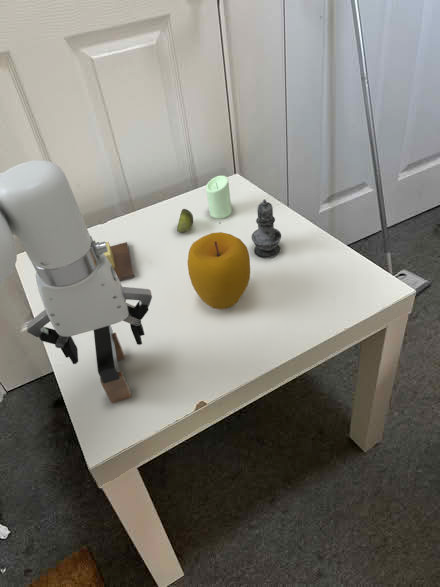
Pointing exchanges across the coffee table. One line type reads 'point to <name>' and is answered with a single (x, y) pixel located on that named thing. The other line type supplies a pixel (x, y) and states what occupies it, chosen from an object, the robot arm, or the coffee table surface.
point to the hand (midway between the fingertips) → (107, 347)
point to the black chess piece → (266, 233)
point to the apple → (219, 269)
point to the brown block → (118, 387)
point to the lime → (185, 221)
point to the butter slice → (109, 255)
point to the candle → (219, 197)
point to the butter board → (122, 261)
